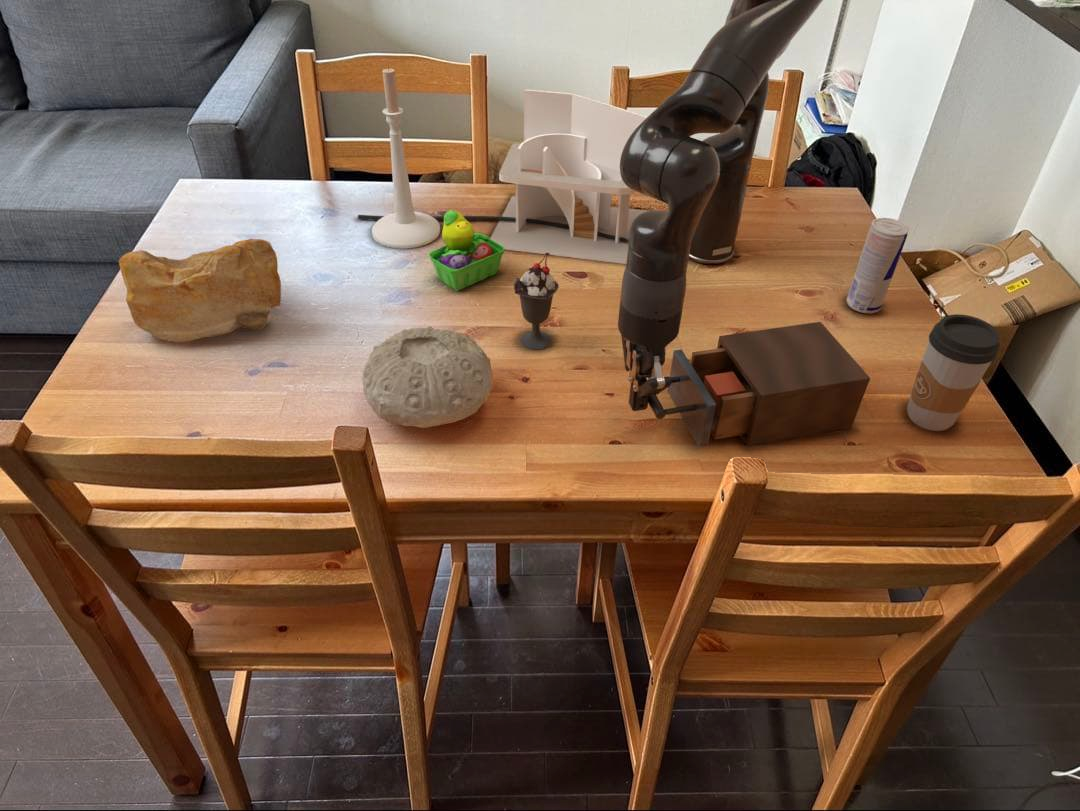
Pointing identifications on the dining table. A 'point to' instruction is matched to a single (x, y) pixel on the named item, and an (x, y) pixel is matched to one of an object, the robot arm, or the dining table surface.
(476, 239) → the fruit basket
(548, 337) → the sundae
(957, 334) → the coffee cup
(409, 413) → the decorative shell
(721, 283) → the dining table surface
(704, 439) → the drawer
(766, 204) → the dining table surface
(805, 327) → the cabinet
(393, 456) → the dining table surface
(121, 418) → the dining table surface
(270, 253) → the rough brown rock
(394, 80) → the candlestick
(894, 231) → the beverage can
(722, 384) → the block
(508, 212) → the architectural model
